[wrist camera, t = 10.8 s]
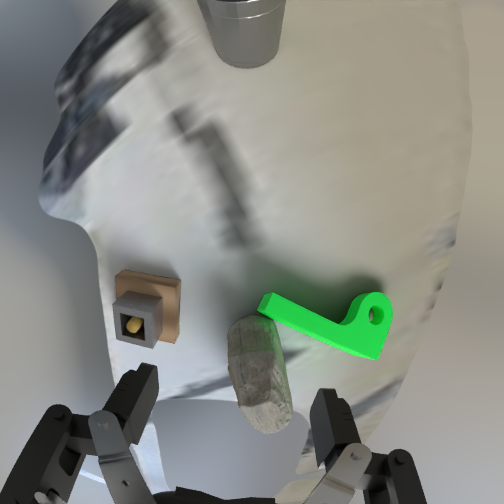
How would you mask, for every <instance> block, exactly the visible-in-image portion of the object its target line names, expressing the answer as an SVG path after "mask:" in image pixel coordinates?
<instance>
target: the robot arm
mask: <svg viewBox="0 0 504 504" xmlns="http://www.w3.org/2000/svg"><path fill="white" fill-rule="evenodd" d="M197 2H198V5H199V7H200V10H201V12H202V15H203V17H204V20H205V22H206V25H207V27H208V30H209V33H210V35H211V38H212V41H213V43H214V46H215V49H216V51H217V54H218V55H219V57H220V58H221V59H222V60H223V61H224V62H226V63H227V64H229V65H231V66H234V67H238V68H254V67H258V66H261V65H264V64H266V63H267V62H269V61H270V60H271V59H273V57H274V56H275V55H276V53H277V51H278V48H279V42H280V36H281V30H282V23H283V17H284V10H285V3H286V0H197ZM158 392H159V382H158V371H157V366H155V365H151V364H147V363H143V362H142V363H141V364H140V366H139V368H138V369H137V371H135V370H129V371H128V372H126V373H125V374H123V376H122V377H121V379H120V381H119V383H118V384H117V386H116V388H115V389H114V391H113V393H112V394H111V396H110V397H109V399H108V401H107V402H106V404H105V406H104V408H103V409H102V410H100V411H96V412H94V413H92V414H91V415H88V416H86V415H79V414H72V412H71V410H70V409H69V408H68V407H66V406H65V405H61V404H56V405H52V406H51V407H49V408H48V409H47V411H46V412H45V414H44V415H43V417H42V419H41V420H40V422H39V424H38V425H37V427H36V428H35V430H34V432H33V433H32V435H31V437H30V439H29V440H28V442H27V443H26V445H25V447H24V449H23V450H22V452H21V454H20V456H19V458H18V460H17V461H16V463H15V465H14V467H13V469H12V471H11V473H10V475H9V477H8V478H7V481H6V483H5V485H4V487H3V489H2V491H1V493H0V504H67V502H68V499H69V497H70V494H71V491H72V489H73V486H74V483H75V481H76V478H77V476H78V474H79V471H80V469H81V466H82V464H83V461H84V459H85V457H86V454H87V455H95V456H98V458H99V460H98V462H99V465H100V468H101V471H102V474H103V476H104V479H105V482H106V484H107V486H108V489H109V491H110V494H111V496H112V498H113V501H114V503H115V504H277V503H275V498H256V497H255V498H254V497H249V498H241V499H231V500H223V499H220V498H218V497H215V496H212V495H209V494H206V493H204V492H201V491H196V490H191V489H186V488H181V487H176V491H166V492H160V493H156V494H153V495H152V494H151V492H150V490H149V489H148V487H147V485H146V483H145V481H144V479H143V477H142V475H141V473H140V471H139V469H138V467H137V465H136V462H135V460H134V458H133V456H132V454H131V452H130V450H129V446H130V444H131V443H133V444H136V445H138V443H139V441H140V438H141V436H142V433H143V431H144V428H145V426H146V423H147V421H148V418H149V416H150V414H151V411H152V409H153V406H154V404H155V402H156V399H157V396H158ZM310 423H311V429H312V435H313V441H314V447H315V453H316V460H317V466H318V468H325V469H326V474H325V475H324V476H323V478H322V479H321V480H320V481H319V483H318V484H317V485H316V487H315V488H314V489H313V490H312V492H311V493H310V494H309V495H308V497H307V498H306V499H305V500H304V501H303V502H302V504H348V503H349V502H350V500H351V499H352V497H353V495H354V493H355V491H354V489H361V490H363V494H364V500H365V504H427V502H426V499H425V496H424V492H423V489H422V486H421V482H420V479H419V476H418V473H417V470H416V467H415V464H414V461H413V458H412V456H411V454H410V453H409V452H407V451H405V450H403V449H395V450H393V451H391V452H390V453H389V454H388V455H386V454H379V453H373V452H371V451H370V449H369V448H368V447H367V446H365V445H364V444H362V443H361V440H360V437H359V434H358V431H357V428H356V425H355V422H354V418H353V415H352V412H351V409H350V406H349V404H348V403H347V402H346V401H345V400H344V399H343V398H338V397H337V393H336V390H335V389H327V388H320V389H319V390H318V392H317V395H316V397H315V399H314V402H313V404H312V406H311V409H310Z"/></svg>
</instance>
